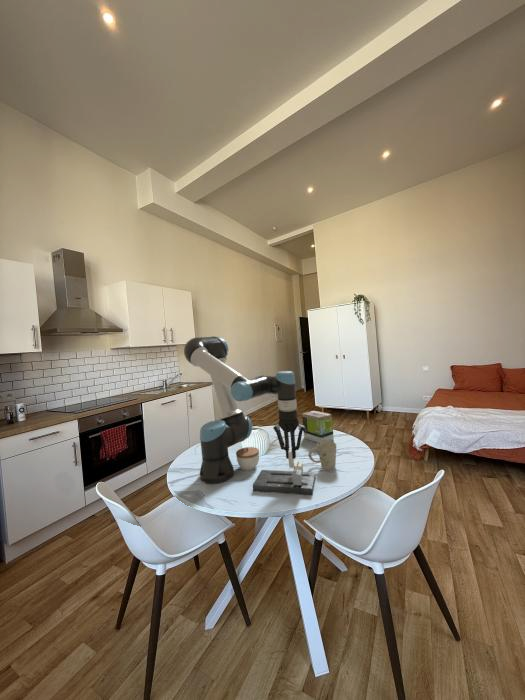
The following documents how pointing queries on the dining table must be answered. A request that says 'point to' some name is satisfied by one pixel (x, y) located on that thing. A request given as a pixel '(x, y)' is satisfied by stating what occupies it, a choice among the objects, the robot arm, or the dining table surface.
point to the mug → (325, 454)
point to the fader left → (298, 466)
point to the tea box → (318, 426)
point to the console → (284, 482)
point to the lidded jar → (248, 458)
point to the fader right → (297, 477)
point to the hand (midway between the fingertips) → (291, 466)
